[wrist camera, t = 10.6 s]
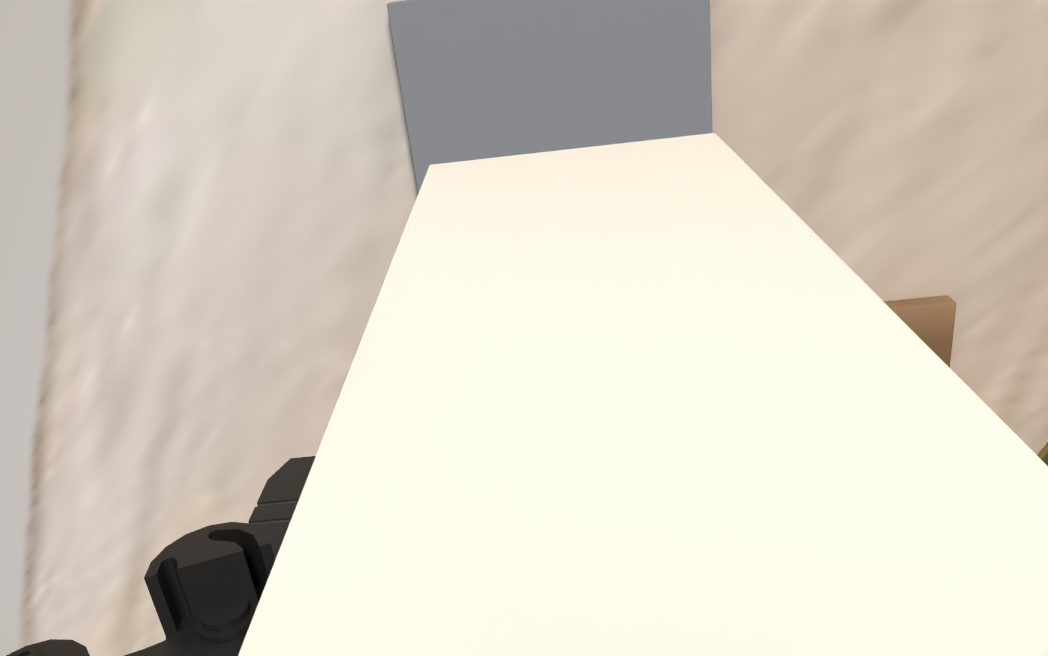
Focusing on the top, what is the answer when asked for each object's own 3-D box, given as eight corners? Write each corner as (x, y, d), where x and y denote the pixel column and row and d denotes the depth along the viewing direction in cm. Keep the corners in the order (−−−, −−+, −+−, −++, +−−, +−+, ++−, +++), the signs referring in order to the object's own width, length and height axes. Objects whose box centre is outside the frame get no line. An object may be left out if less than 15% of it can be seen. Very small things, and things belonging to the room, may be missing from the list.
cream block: (429, 164, 18) (160, 858, 4) (715, 132, 18) (1344, 762, 4) (469, 410, 21) (371, 1337, 7) (719, 385, 20) (1127, 1295, 7)
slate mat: (389, 2, 30) (386, 3, 29) (704, -36, 30) (708, -35, 29) (437, 291, 35) (436, 298, 34) (711, 262, 34) (715, 269, 33)
